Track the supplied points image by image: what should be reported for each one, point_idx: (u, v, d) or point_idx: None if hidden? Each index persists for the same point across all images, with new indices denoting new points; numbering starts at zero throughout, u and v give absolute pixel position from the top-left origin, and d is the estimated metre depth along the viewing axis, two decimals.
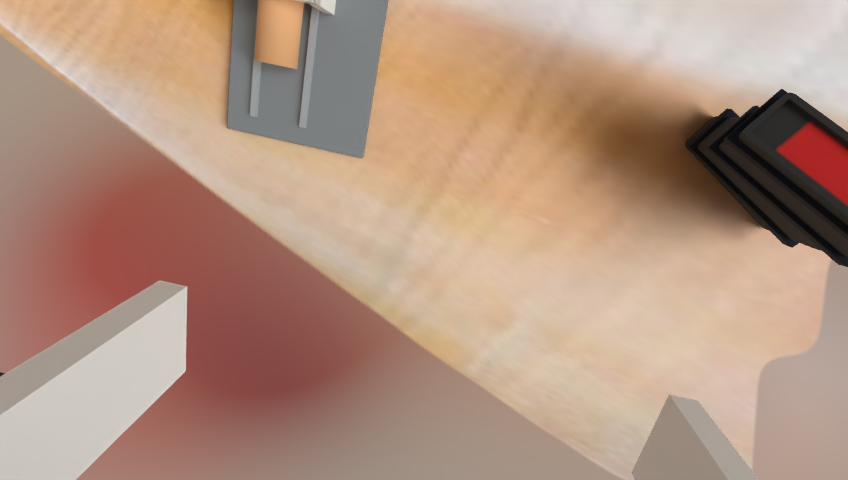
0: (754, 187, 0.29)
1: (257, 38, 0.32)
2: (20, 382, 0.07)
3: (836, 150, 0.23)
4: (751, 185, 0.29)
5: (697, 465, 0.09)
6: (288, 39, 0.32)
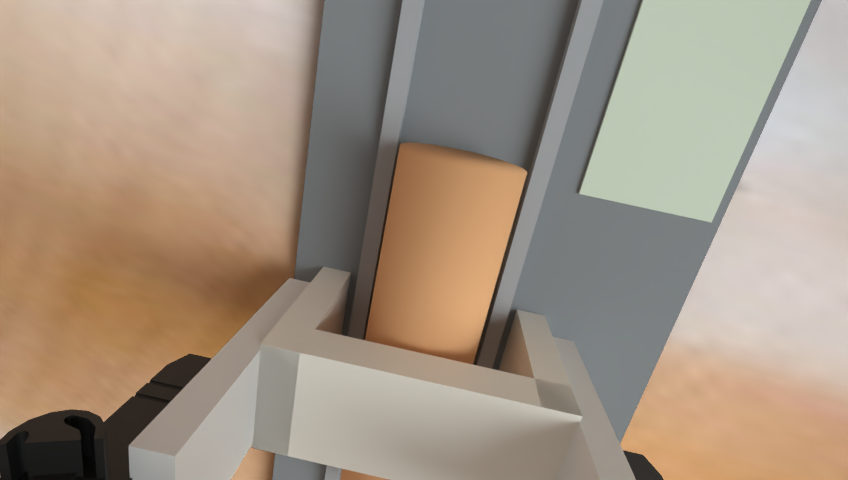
0: None
1: None
2: (231, 361, 0.09)
3: None
4: None
5: None
6: None
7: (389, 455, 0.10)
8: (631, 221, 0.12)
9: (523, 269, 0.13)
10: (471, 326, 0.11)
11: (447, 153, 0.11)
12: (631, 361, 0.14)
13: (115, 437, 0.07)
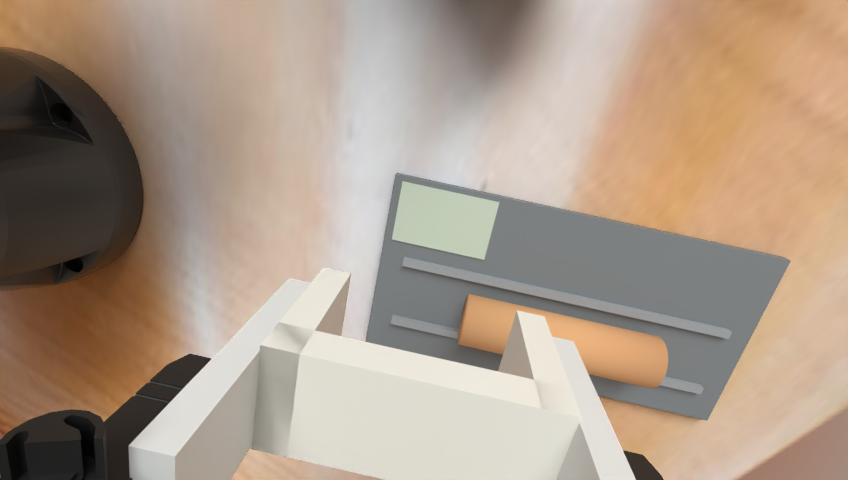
0: None
1: (627, 382, 0.26)
2: (231, 361, 0.09)
3: None
4: None
5: None
6: (635, 350, 0.25)
7: (388, 456, 0.10)
8: (498, 235, 0.26)
9: (521, 280, 0.27)
10: None
11: (461, 323, 0.27)
12: (577, 227, 0.26)
13: (116, 437, 0.07)
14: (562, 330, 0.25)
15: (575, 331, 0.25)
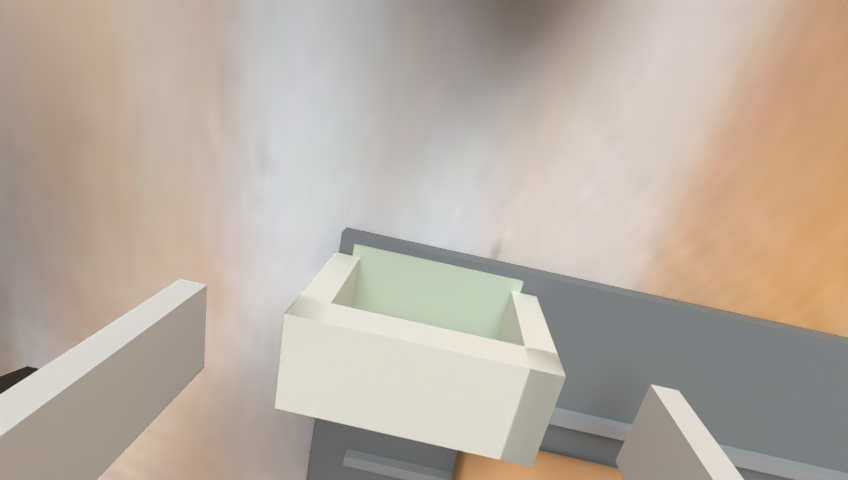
0: None
1: None
2: (56, 376, 0.08)
3: None
4: None
5: (675, 451, 0.10)
6: None
7: (396, 413, 0.11)
8: None
9: (557, 404, 0.16)
10: None
11: None
12: (658, 323, 0.15)
13: None
14: None
15: None
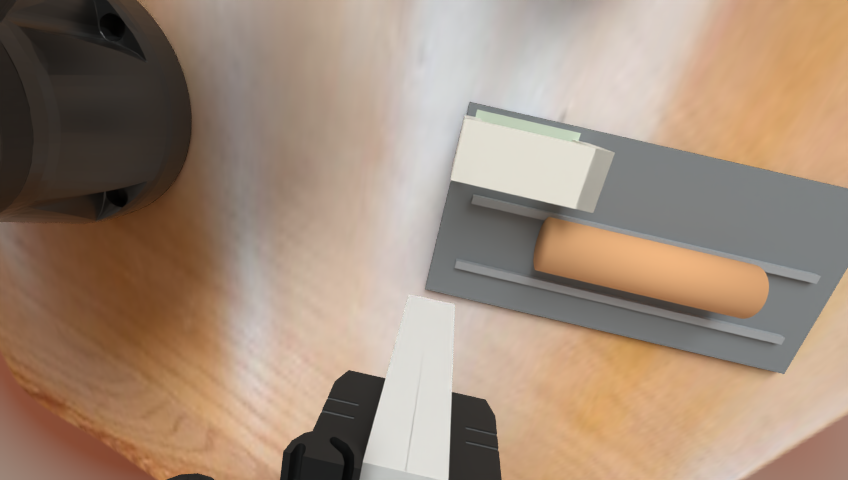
0: None
1: (732, 303, 0.23)
2: (403, 378, 0.09)
3: None
4: None
5: None
6: (728, 261, 0.24)
7: (519, 180, 0.21)
8: None
9: (597, 220, 0.26)
10: (620, 236, 0.24)
11: (540, 250, 0.25)
12: (662, 160, 0.24)
13: None
14: (650, 241, 0.24)
15: (663, 243, 0.24)
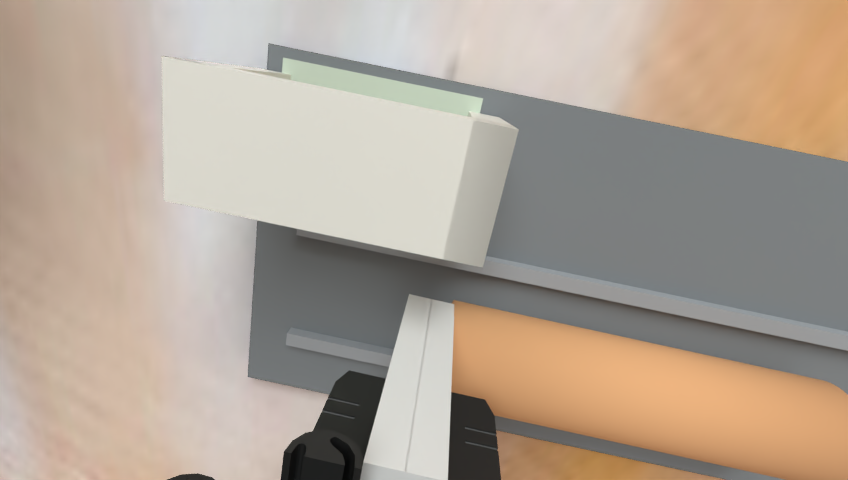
0: None
1: None
2: (404, 379, 0.09)
3: None
4: None
5: None
6: (800, 426, 0.12)
7: (312, 199, 0.09)
8: None
9: (527, 260, 0.14)
10: (585, 381, 0.12)
11: None
12: (642, 148, 0.13)
13: None
14: (648, 384, 0.12)
15: (676, 385, 0.12)
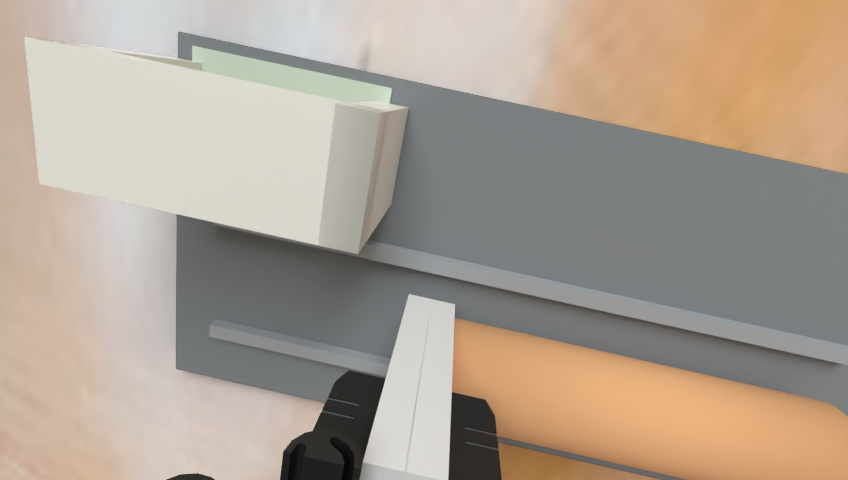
0: None
1: None
2: (403, 378, 0.09)
3: None
4: None
5: None
6: (798, 465, 0.12)
7: (184, 183, 0.09)
8: None
9: (446, 253, 0.14)
10: (580, 417, 0.12)
11: None
12: (553, 139, 0.13)
13: None
14: (644, 422, 0.12)
15: (674, 423, 0.12)
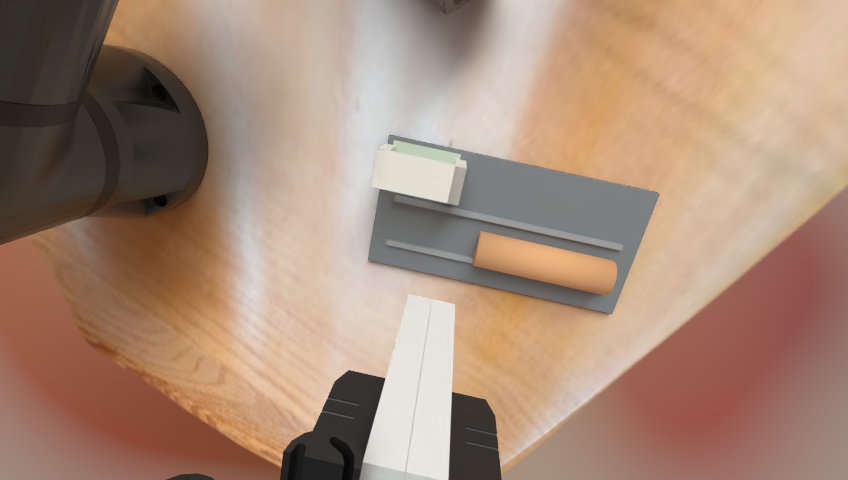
0: None
1: (588, 291, 0.38)
2: (403, 378, 0.09)
3: None
4: None
5: None
6: (594, 271, 0.36)
7: (412, 186, 0.34)
8: None
9: (477, 211, 0.39)
10: (524, 256, 0.37)
11: (475, 250, 0.39)
12: (514, 171, 0.37)
13: None
14: (545, 257, 0.37)
15: (554, 258, 0.37)
